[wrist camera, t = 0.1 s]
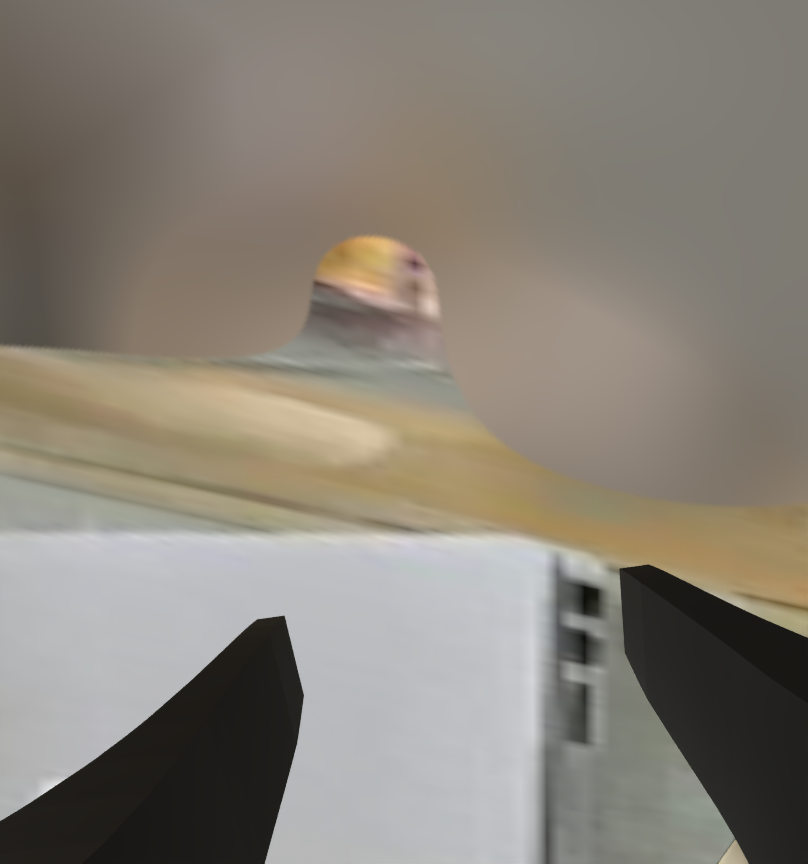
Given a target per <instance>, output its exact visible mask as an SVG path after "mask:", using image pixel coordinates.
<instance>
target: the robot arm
mask: <svg viewBox="0 0 808 864" xmlns="http://www.w3.org/2000/svg"><path fill="white" fill-rule="evenodd" d="M620 585H621V600H622V616H623V631H624V646H625V654H626V656H627V658H628V660H629V662H630V665H631V667H632V669H633V671H634V673H635V675H636V677H637V679H638V681H639V683H640V685H641V687H642V689H643V691H644V693H645V695H646V697H647V699H648V701H649V702H650V704H651V706H652V707H653V709H654V710H655V712H656V714H657V715H658V717H659V718H660V720H661V721H662V723H663V725H664V726H665V728H666V729H667V731H668V732H669V734H670V736H671V737H672V739H673V740H674V742H675V743H676V745H677V746H678V748H679V749H680V751H681V753H682V754H683V756H684V757H685V759H686V760H687V762H688V763H689V765H690V767H691V768H692V770H693V771H694V773H695V774H696V776H697V777H698V779H699V780H700V782H701V784H702V785H703V787H704V788H705V790H706V791H707V793H708V794H709V796H710V797H711V799H712V801H713V802H714V804H715V805H716V807H717V808H718V810H719V812H720V813H721V815H722V817H723V818H724V820H725V822H726V823H727V825H728V827H729V829H730V830H731V832H732V834H733V835H734V837H735V839H736V841H737V843H738V845H739V846H740V848H741V850H742V852H743V854H744V856H745V858H746V860H747V862H748V863H749V864H808V638H807V637H804V636H802V635H800V634H797V633H795V632H793V631H790V630H788V629H786V628H783V627H781V626H778V625H776V624H774V623H771V622H769V621H767V620H765V619H762V618H760V617H758V616H756V615H754V614H751V613H749V612H747V611H745V610H743V609H741V608H738V607H736V606H734V605H732V604H730V603H728V602H726V601H724V600H722V599H720V598H718V597H716V596H714V595H711V594H709V593H707V592H705V591H703V590H701V589H699V588H697V587H695V586H693V585H691V584H689V583H687V582H685V581H683V580H681V579H679V578H677V577H675V576H673V575H671V574H669V573H667V572H665V571H663V570H661V569H658V568H656V567H654V566H651V565H642V566H635V567H628V568H621V569H620ZM303 698H304V694H303V690H302V686H301V682H300V678H299V674H298V670H297V666H296V661H295V657H294V653H293V649H292V645H291V641H290V637H289V633H288V628H287V624H286V620H285V616H279V617H272V618H265V619H257V620H256V621H255V622H253V623H252V624H251V625H250V626H249V627H248V628H246V629H245V630H244V631H243V632H242V633H241V634H240V635H239V636H238V637H237V638H236V639H235V640H234V641H233V642H231V643H230V644H229V645H228V646H227V647H226V648H225V649H224V650H223V651H222V652H221V653H220V654H219V655H218V656H217V657H216V658H215V659H214V660H213V661H212V662H210V663H209V664H208V665H207V666H206V667H205V668H204V669H203V670H202V671H201V672H200V673H199V674H198V675H197V676H196V677H195V678H193V679H192V680H191V681H190V682H189V683H188V684H187V685H186V686H185V687H183V688H182V689H181V690H180V691H179V692H178V693H177V694H175V695H174V696H173V697H172V698H171V699H170V700H169V701H167V702H166V703H165V704H164V705H163V706H162V707H161V708H159V709H158V710H157V711H156V712H155V713H154V714H153V715H151V716H150V717H149V718H148V719H147V720H145V721H144V722H143V723H142V724H141V725H139V726H138V727H137V728H136V729H134V730H133V731H132V732H130V733H129V734H128V735H127V736H125V737H124V738H123V739H122V740H120V741H119V742H118V743H116V744H115V745H114V746H112V747H111V748H109V749H108V750H107V751H105V752H104V753H103V754H101V755H100V756H99V757H97V758H96V759H95V760H93V761H92V762H91V763H89V764H88V765H86V766H85V767H83V768H82V769H80V770H79V771H77V772H76V773H74V774H73V775H71V776H70V777H68V778H67V779H65V780H64V781H62V782H61V783H59V784H58V785H56V786H55V787H53V788H52V789H50V790H49V791H47V792H46V793H44V794H43V795H41V796H40V797H38V798H37V799H35V800H34V801H32V802H31V803H29V804H28V805H26V806H24V807H23V808H21V809H20V810H18V811H16V812H15V813H13V814H11V815H10V816H8V817H6V818H5V819H3V820H1V821H0V864H265V860H266V856H267V853H268V849H269V845H270V842H271V838H272V834H273V831H274V827H275V823H276V820H277V816H278V813H279V809H280V805H281V802H282V798H283V794H284V791H285V787H286V783H287V780H288V776H289V772H290V768H291V765H292V761H293V757H294V753H295V749H296V745H297V740H298V734H299V727H300V721H301V713H302V705H303Z"/></svg>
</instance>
